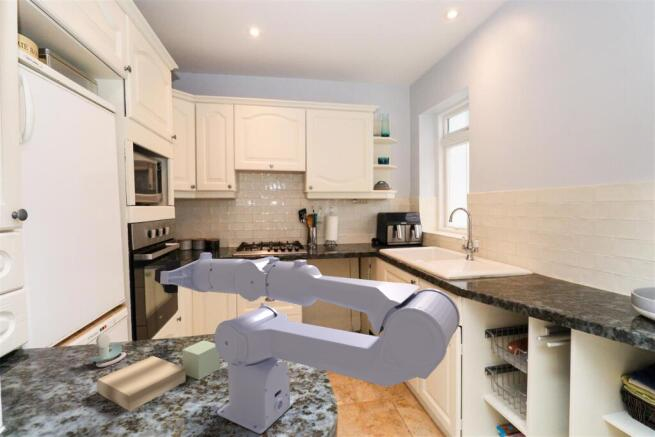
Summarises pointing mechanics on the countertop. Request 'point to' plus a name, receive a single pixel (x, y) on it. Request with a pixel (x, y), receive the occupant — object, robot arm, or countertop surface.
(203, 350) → the green cube
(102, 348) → the pacifier
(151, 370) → the block
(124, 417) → the countertop surface
